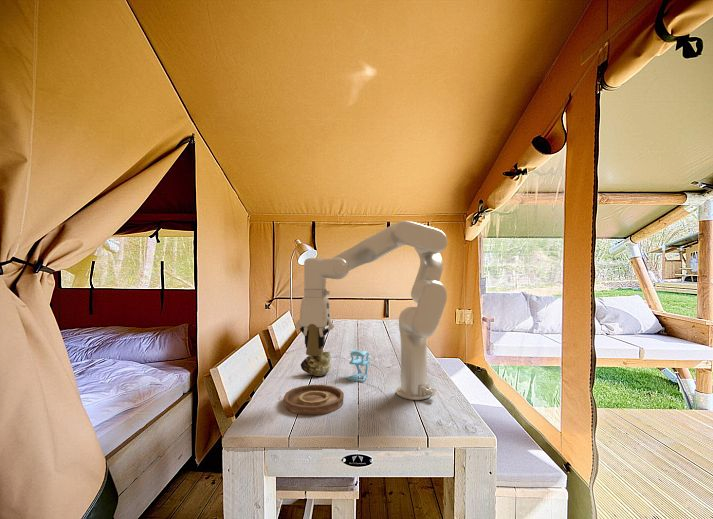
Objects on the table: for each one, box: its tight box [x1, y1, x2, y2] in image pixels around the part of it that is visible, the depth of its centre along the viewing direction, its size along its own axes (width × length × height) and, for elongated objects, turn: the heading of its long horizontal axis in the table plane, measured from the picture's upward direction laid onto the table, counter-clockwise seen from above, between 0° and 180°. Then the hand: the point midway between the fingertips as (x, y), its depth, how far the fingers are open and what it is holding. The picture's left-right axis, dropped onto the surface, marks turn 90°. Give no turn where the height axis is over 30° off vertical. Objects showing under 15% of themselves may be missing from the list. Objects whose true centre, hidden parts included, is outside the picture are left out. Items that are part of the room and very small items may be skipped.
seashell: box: [300, 351, 332, 377], centre depth 143 cm, size 11×11×10 cm
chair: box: [346, 349, 371, 383], centre depth 139 cm, size 8×8×12 cm
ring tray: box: [283, 384, 344, 416], centre depth 114 cm, size 20×20×2 cm
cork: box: [305, 324, 324, 356], centre depth 114 cm, size 6×6×11 cm
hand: (314, 346), depth 114 cm, fingers closed on cork, 4 cm apart
